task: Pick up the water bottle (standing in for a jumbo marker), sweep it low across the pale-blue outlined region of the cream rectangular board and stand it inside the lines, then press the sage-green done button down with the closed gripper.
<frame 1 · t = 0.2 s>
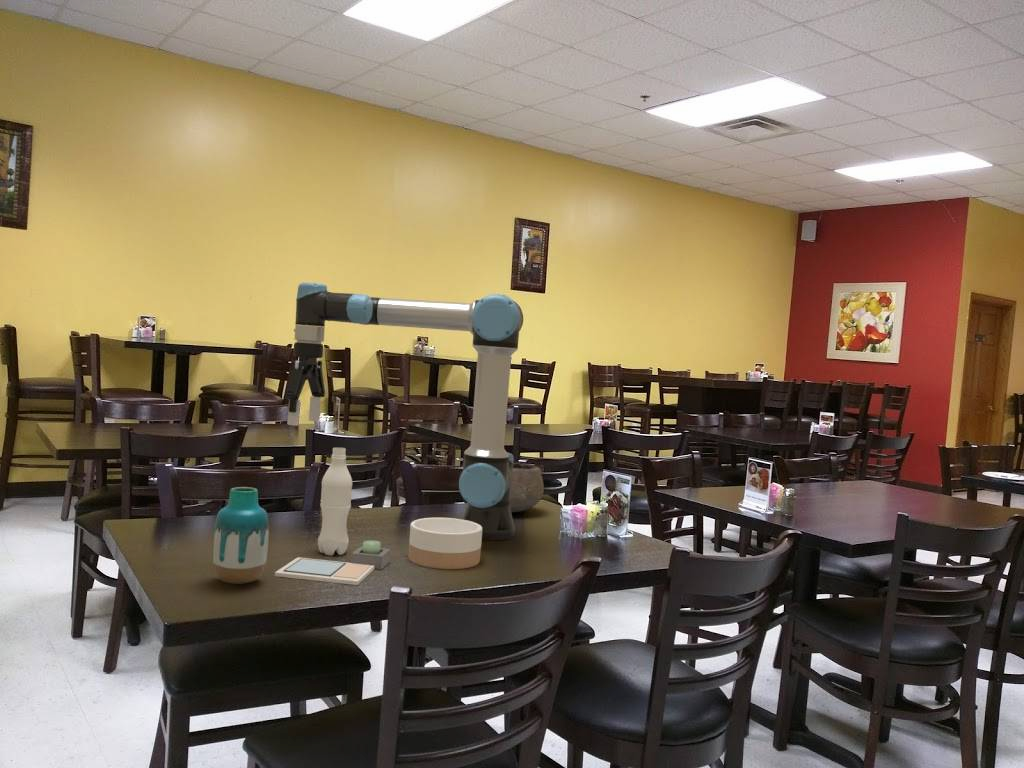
hand: (303, 423, 219), 28 cm above the table, fingers open, 13 cm apart
cream rectangular board: (326, 572, 181), on the table
vase: (238, 583, 170), on the table
bowl: (444, 560, 200), on the table
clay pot: (508, 512, 261), on the table
button housing: (370, 564, 191), on the table
done button: (371, 550, 190), point 3 cm above the table, slide at 0.0 cm
water bottle: (332, 553, 198), on the table
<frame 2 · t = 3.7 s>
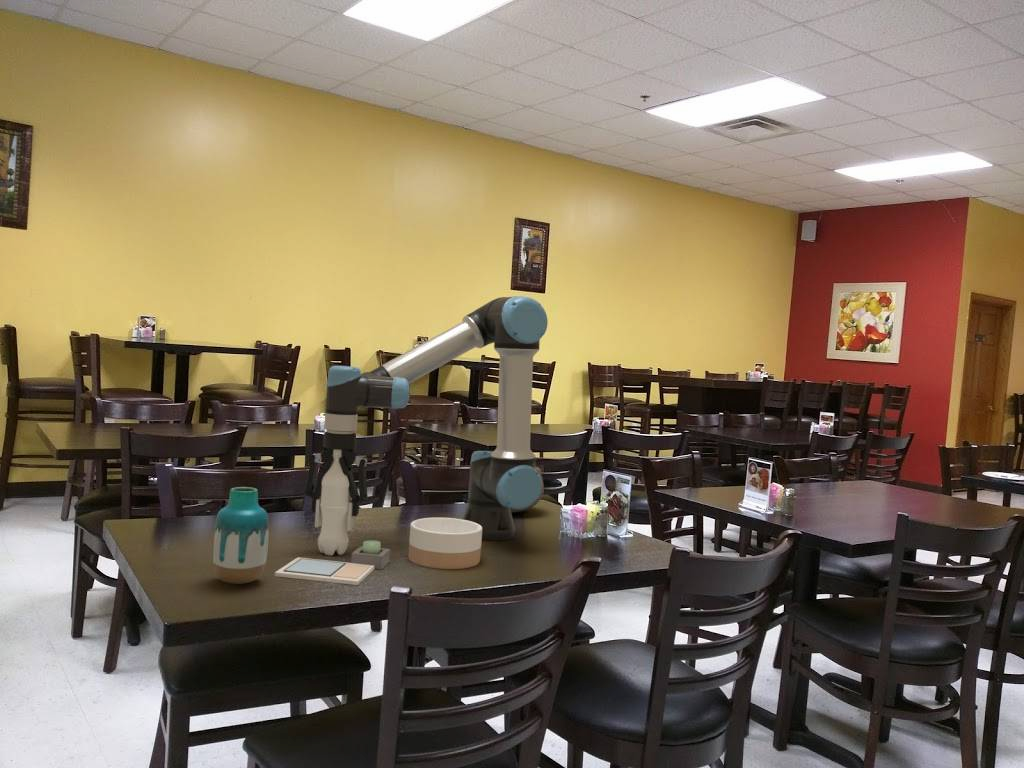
hand: (334, 527, 197), 6 cm above the table, fingers closed on water bottle, 7 cm apart
water bottle: (332, 553, 198), on the table, touching gripper
everything else where it was.
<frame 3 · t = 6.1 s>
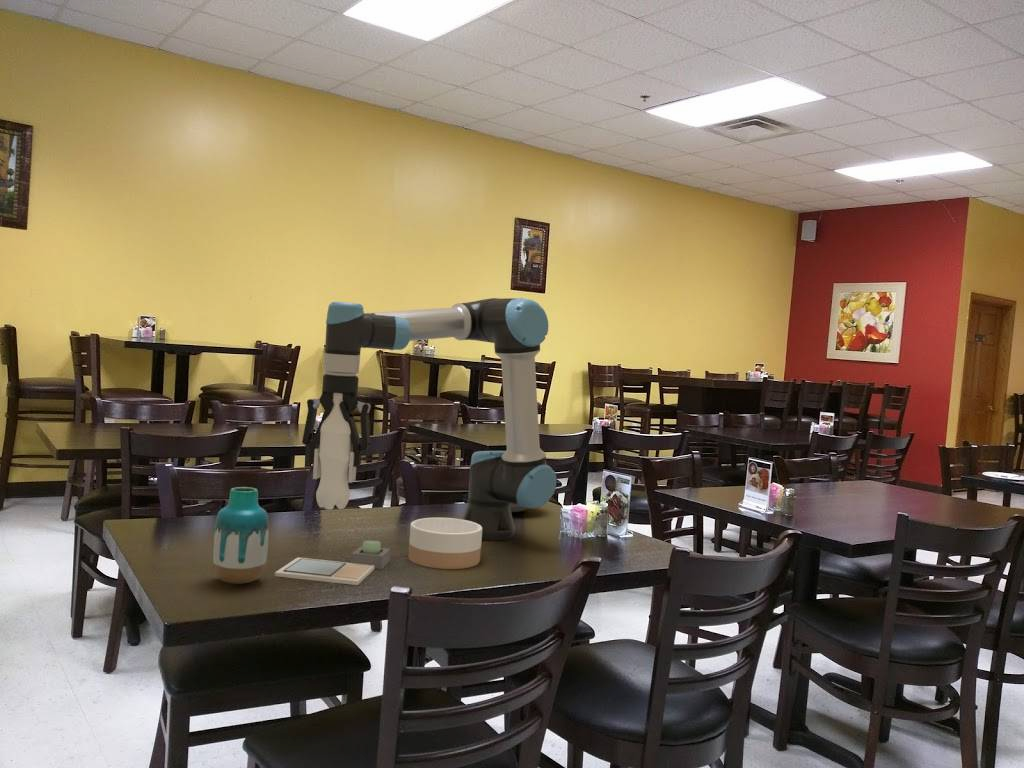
hand: (334, 479, 180), 20 cm above the table, fingers closed on water bottle, 7 cm apart
water bottle: (332, 508, 181), point 14 cm above the table, touching gripper
everything else where it was.
when the fingers open (8 cm above the table, at t = 8.6 s): water bottle stays where it is, resting on cream rectangular board.
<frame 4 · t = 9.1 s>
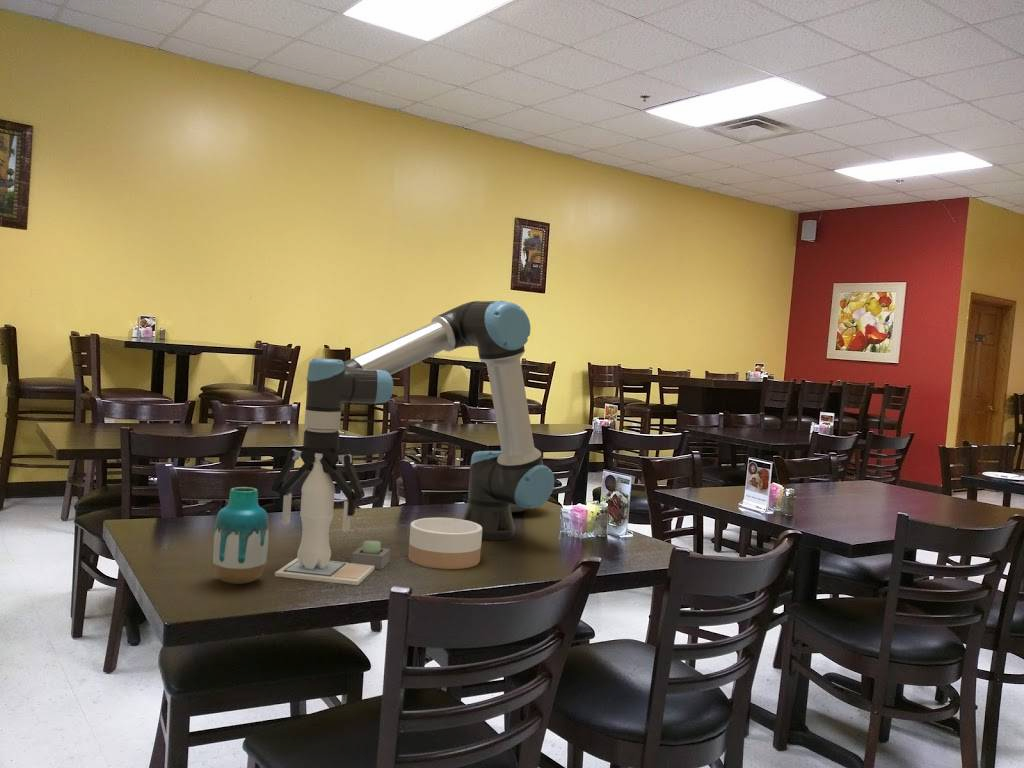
hand: (315, 527, 181), 10 cm above the table, fingers open, 13 cm apart
water bottle: (313, 567, 182), point 1 cm above the table, touching cream rectangular board
everything else where it was.
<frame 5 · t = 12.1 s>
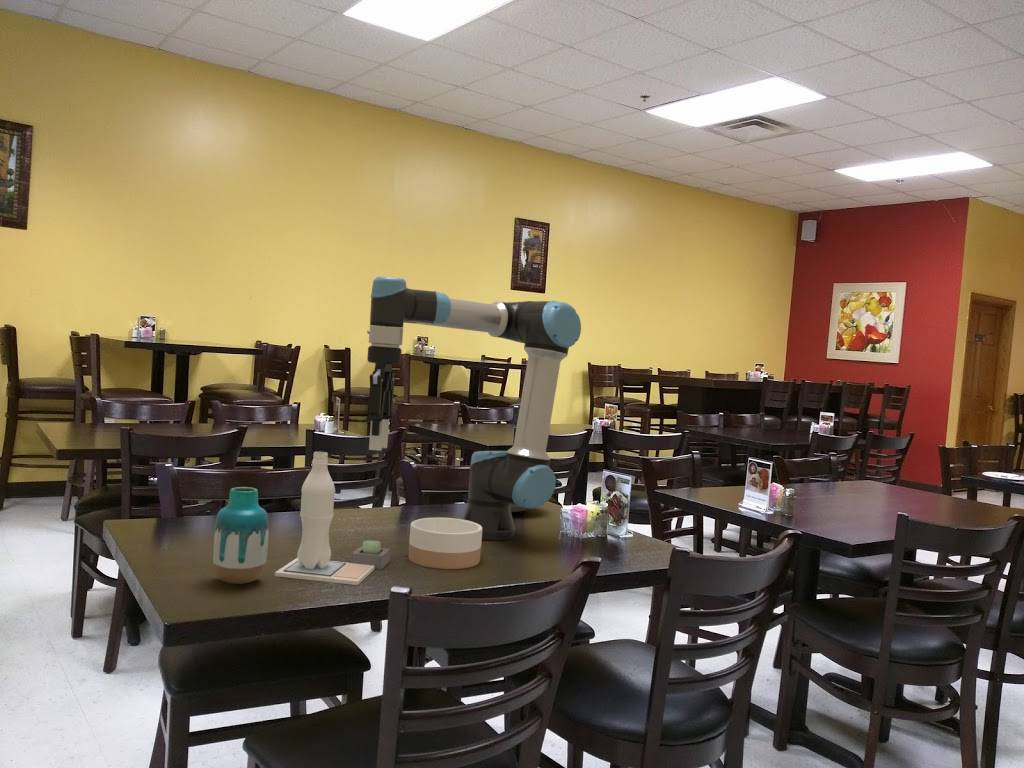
hand: (378, 448, 189), 27 cm above the table, fingers open, 4 cm apart
nothing on the table moved.
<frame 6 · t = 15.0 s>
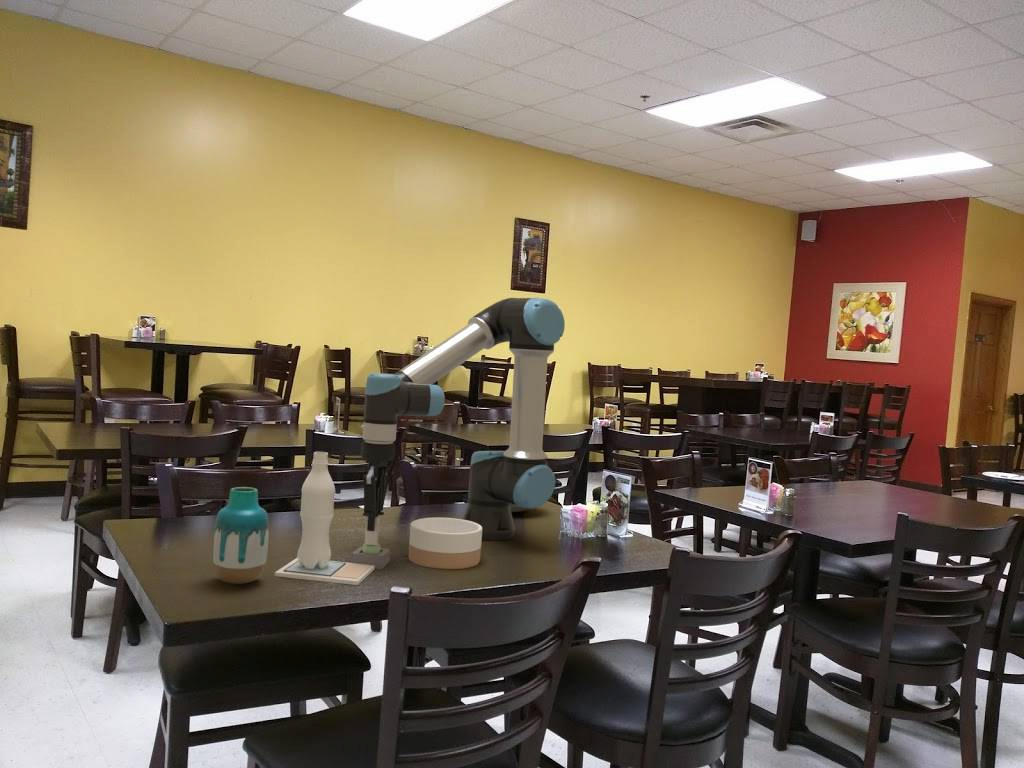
hand: (371, 544, 190), 5 cm above the table, fingers closed
done button: (371, 552, 190), point 3 cm above the table, slide at 0.6 cm, touching gripper
everything else where it was.
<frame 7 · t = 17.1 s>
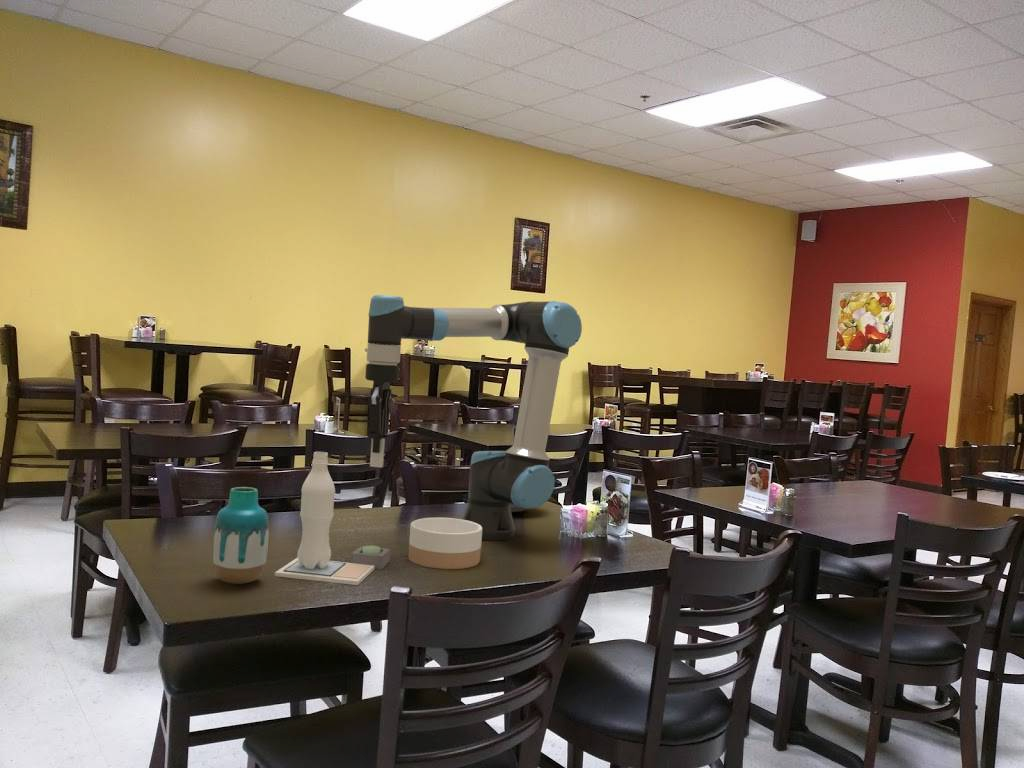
hand: (376, 466, 191), 22 cm above the table, fingers closed
done button: (371, 555, 190), point 2 cm above the table, slide at 1.2 cm
everything else where it was.
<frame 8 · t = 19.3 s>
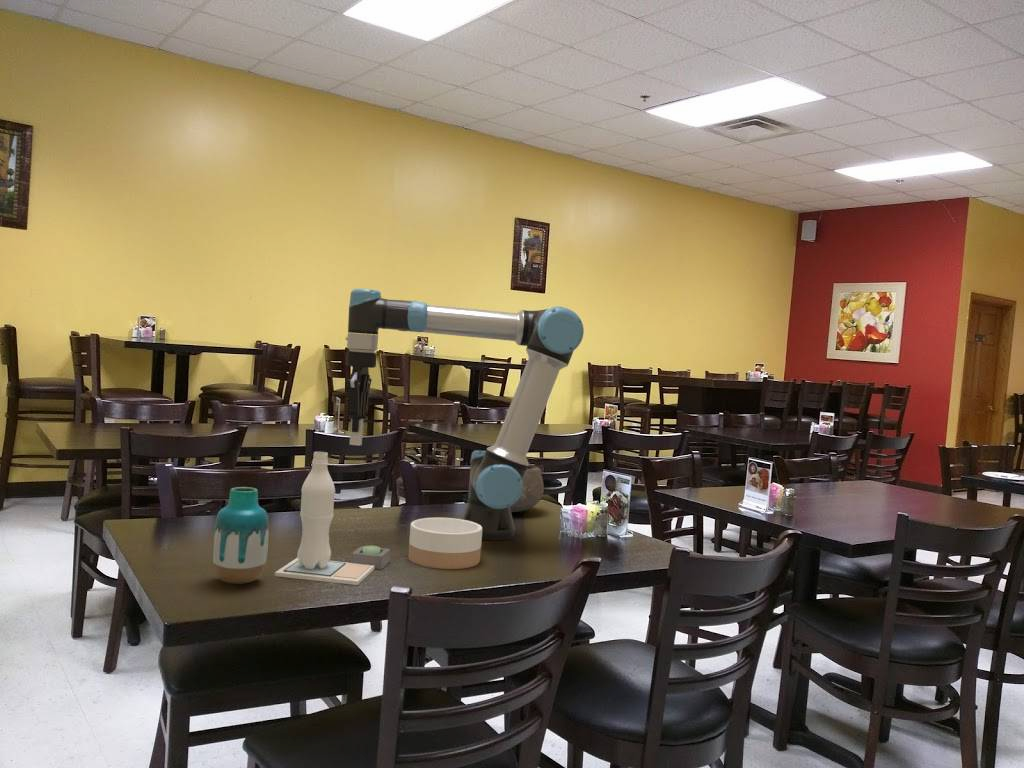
hand: (355, 444, 209), 24 cm above the table, fingers closed
nothing on the table moved.
at the end: water bottle inside the target area (0.7 cm from its centre), point 0.8 cm above the table; water bottle tilted 0°; done button slide at 1.2 cm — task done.
